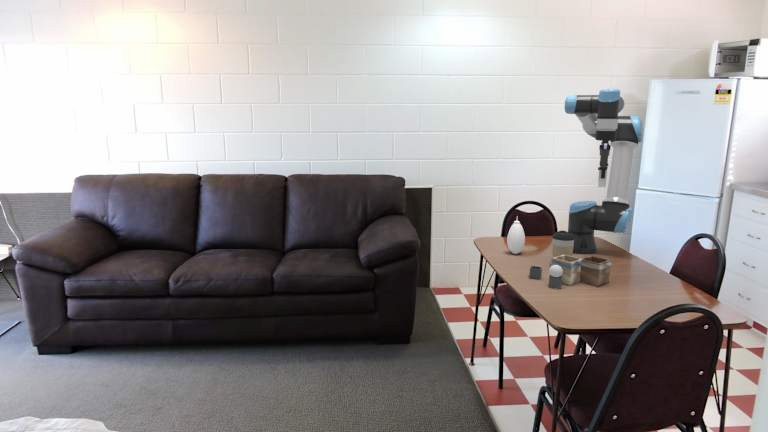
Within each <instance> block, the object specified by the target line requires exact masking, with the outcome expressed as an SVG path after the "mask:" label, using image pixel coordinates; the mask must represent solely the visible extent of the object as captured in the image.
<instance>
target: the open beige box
mask: <svg viewBox="0 0 768 432" xmlns="http://www.w3.org/2000/svg"><path fill="white" fill-rule="evenodd" d="M581 259H582V258H581V257H576V256H573V255H572V256H568V255H561V256H558V257H554V258H553V257H552V259H551V261H550V263H551V266H553V265H559V266H560V267H561V268H562V270H563V274H562V278H561V285H562V284H564V285H566V286H572V285H575V284H577V283H581V282H580V271H581Z"/></svg>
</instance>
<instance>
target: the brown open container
mask: <svg viewBox="0 0 768 432" xmlns="http://www.w3.org/2000/svg"><path fill="white" fill-rule="evenodd" d="M611 267H612V260H611V259H607V258H603V257H600V256H594V255H589V256H585V257H582V258H581V271H580V282H579V283H582V284H585V285H590V286H593V287H596V288H599V287H601V286H604V285H607V284H609V283H610V276H611V275H610V274H611Z"/></svg>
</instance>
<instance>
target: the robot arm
mask: <svg viewBox="0 0 768 432" xmlns="http://www.w3.org/2000/svg"><path fill="white" fill-rule="evenodd" d="M564 100H565V101H564V112H565V113H566V114H569V115H575V116H576V117H577V118H578V120H579V121H580V123H581V124H582V130H583V131H584V132H585V133H586V134H587V135H589V136H590V137H592V138H594V139H595V140H596V141H601V142H600V143H601V144H599V156H600V159H599V166H598V167H597V170H598V177H597V178H598V179H597V181H598V185H597V187H598V188H606V187H607V192H606V197H605V199H604V200H602V202H601V204H599V205H598V203H597V202H596V201H595V200H594V201H593V200H582V201H575V202H572V203H571V204H569V211H568V226H567V232H570V233H572V235H573V236H575V240H574V247H573V253H572V254H581V255H588V254H589V255H592V254H595V253H597V249H598V246H597V241H596V239H595V231H600V232H608V233H614V234H615V233H617V234H619V233H620V234H624V233H626V232H627V231H628V229H629V227H630V225H631V221H632V218H633V217H632V216H633V212H634V211H633V208H632V207H631V205H630V203H629V201H628V200H627V199H628V195H629V194H628V193H629V185H630V178H631V172H632V171H631V170H632V163H633V155H634V150H636V148H638V145H639V143H641V142H643V137H644V135H643V131H644V128H643V119H642V118H641V117H640V116H636V115H635V116H634V115H619V113H621V111H623V110H624V107H625V100H624V99H623V97H622V96H621V90H620V89H619V88H618V89H617V88H603V89H600V90H599V93H598V94H585V95H584V94H581V95H580V94H571V95H567V96H566V98H565V99H564ZM609 142H610V143H609ZM611 148H613V150H612V156H611V162H610V170H609V175H608V168H609V156H610V151H611ZM607 176H609V177H607ZM607 179H608V183H607Z"/></svg>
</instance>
